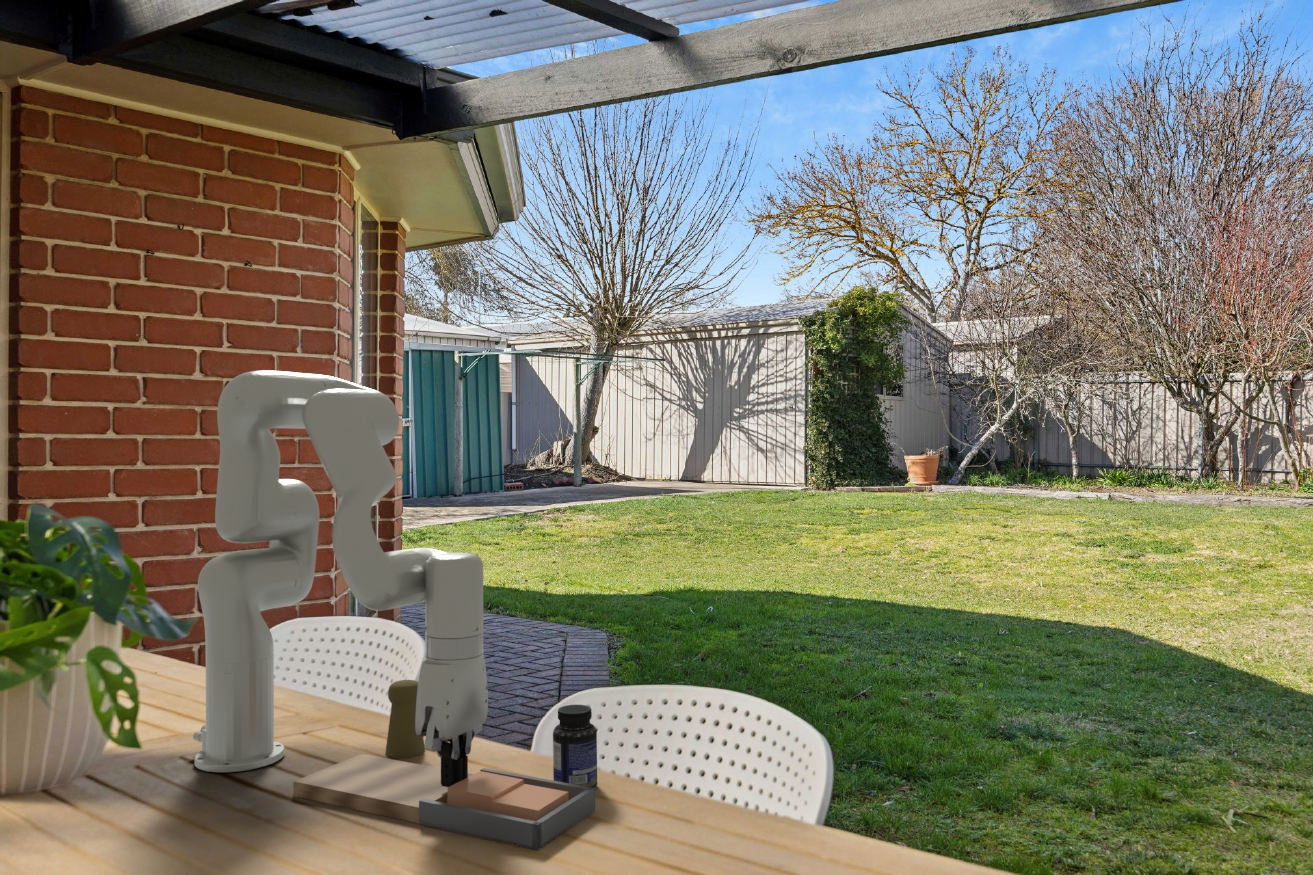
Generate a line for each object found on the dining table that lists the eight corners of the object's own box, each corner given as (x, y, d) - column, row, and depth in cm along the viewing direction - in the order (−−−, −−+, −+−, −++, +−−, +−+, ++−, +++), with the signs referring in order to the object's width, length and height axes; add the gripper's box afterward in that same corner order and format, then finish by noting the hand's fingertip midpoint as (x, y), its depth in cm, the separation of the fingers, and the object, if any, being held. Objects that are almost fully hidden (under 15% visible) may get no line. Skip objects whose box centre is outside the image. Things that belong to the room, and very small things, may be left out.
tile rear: (447, 810, 125) (447, 787, 125) (480, 793, 131) (480, 770, 131) (492, 820, 122) (492, 796, 122) (523, 802, 128) (523, 779, 128)
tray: (419, 824, 123) (418, 800, 123) (483, 789, 135) (483, 767, 135) (537, 850, 115) (537, 824, 115) (595, 810, 127) (595, 787, 127)
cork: (414, 759, 148) (414, 686, 148) (378, 756, 149) (377, 684, 149) (431, 746, 154) (431, 677, 154) (396, 744, 155) (396, 675, 155)
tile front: (491, 825, 122) (491, 801, 122) (522, 806, 128) (522, 783, 128) (538, 834, 119) (538, 810, 119) (568, 815, 125) (568, 791, 125)
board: (293, 795, 133) (293, 781, 133) (361, 767, 145) (361, 753, 145) (420, 823, 123) (420, 807, 123) (482, 790, 135) (482, 775, 135)
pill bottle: (603, 782, 138) (603, 704, 138) (586, 797, 132) (586, 716, 132) (564, 778, 140) (563, 701, 140) (545, 792, 134) (545, 712, 134)
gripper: (466, 634, 137) (466, 764, 137) (393, 655, 124) (393, 799, 124) (510, 639, 134) (510, 772, 134) (440, 661, 121) (440, 809, 121)
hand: (454, 785), depth 129 cm, fingers closed
